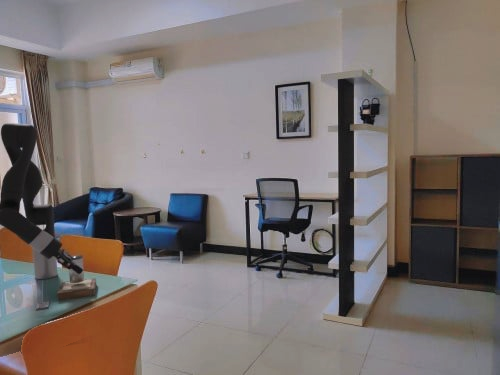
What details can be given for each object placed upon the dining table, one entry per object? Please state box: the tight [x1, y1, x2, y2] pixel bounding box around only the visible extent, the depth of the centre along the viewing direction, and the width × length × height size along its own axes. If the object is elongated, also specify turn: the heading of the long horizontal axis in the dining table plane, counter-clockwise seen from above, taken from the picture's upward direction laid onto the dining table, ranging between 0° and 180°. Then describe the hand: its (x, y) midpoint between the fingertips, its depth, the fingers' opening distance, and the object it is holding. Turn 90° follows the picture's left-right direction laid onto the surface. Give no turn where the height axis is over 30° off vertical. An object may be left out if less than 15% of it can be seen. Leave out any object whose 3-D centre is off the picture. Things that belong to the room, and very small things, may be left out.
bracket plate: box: [35, 300, 51, 311], centre depth 139 cm, size 6×4×1 cm, turn 23°
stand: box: [56, 278, 97, 302], centre depth 152 cm, size 13×13×3 cm
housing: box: [68, 254, 85, 283], centre depth 151 cm, size 5×5×10 cm
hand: (81, 270), depth 152 cm, fingers closed on housing, 5 cm apart
